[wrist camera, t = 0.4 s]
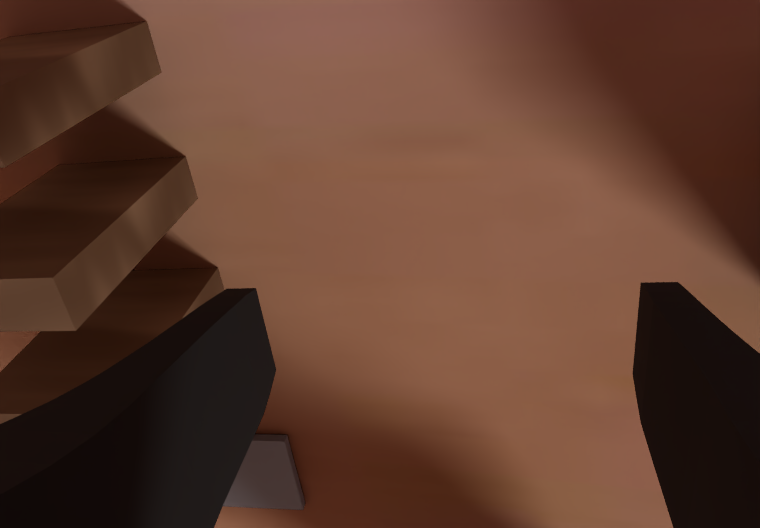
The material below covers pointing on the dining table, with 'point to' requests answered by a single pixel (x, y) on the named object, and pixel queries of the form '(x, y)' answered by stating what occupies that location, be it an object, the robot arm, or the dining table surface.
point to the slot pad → (267, 476)
